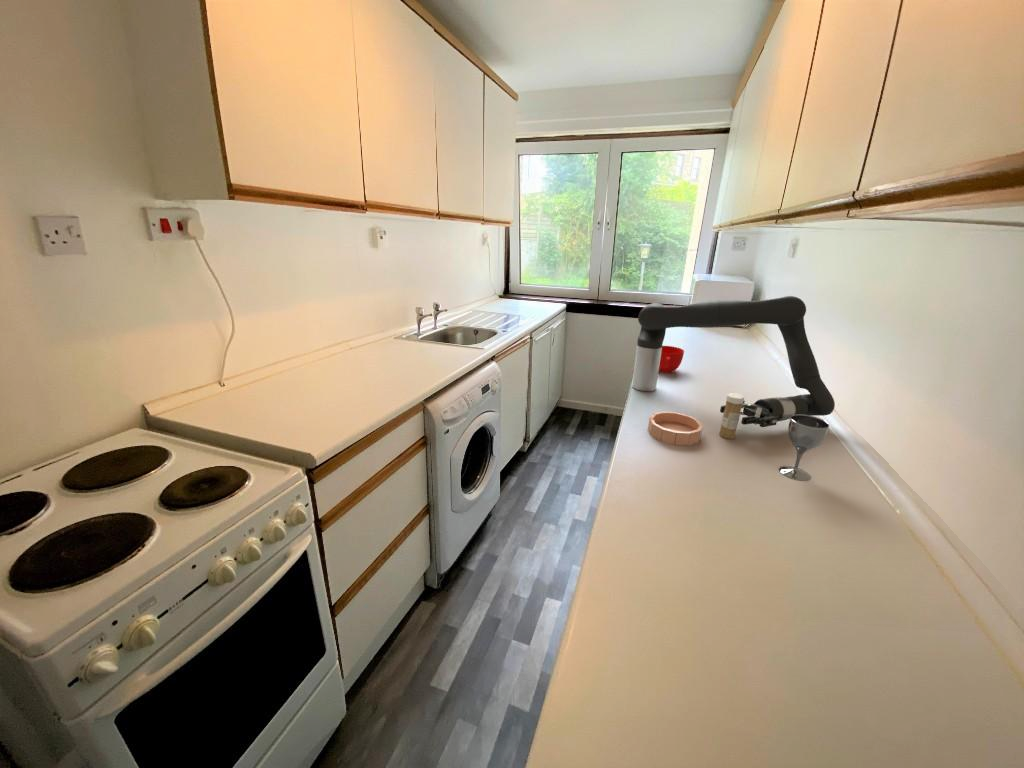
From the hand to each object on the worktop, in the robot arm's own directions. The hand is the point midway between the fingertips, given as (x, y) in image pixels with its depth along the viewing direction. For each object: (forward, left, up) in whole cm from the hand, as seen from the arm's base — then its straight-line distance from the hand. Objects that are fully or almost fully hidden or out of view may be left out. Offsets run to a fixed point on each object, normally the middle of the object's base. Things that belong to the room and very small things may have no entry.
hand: (731, 415), depth 125 cm
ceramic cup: (-61, -2, -7) cm, 61 cm away
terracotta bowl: (0, -16, -7) cm, 17 cm away
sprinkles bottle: (0, 0, -7) cm, 7 cm away
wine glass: (+20, +9, -7) cm, 23 cm away
